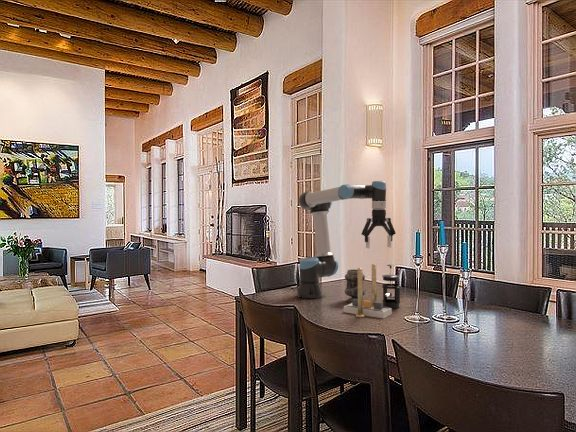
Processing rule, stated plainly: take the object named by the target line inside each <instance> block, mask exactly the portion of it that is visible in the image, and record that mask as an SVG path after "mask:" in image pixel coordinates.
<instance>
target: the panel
mask: <svg viewBox="0 0 576 432" xmlns="http://www.w3.org/2000/svg"><path fill="white" fill-rule="evenodd" d="M392 311H393V309H392V308H389V307H383V309H375V308H374V305H372V307H371V308H368V307H363V314H365V317H372V318H378V319H386V318H387V317H389V316H391V315H392V314H393V312H392ZM343 313H348V314H353V315H356V314H358V306H355V305H352V303H349V304H346V305H344V306H343Z"/></svg>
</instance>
